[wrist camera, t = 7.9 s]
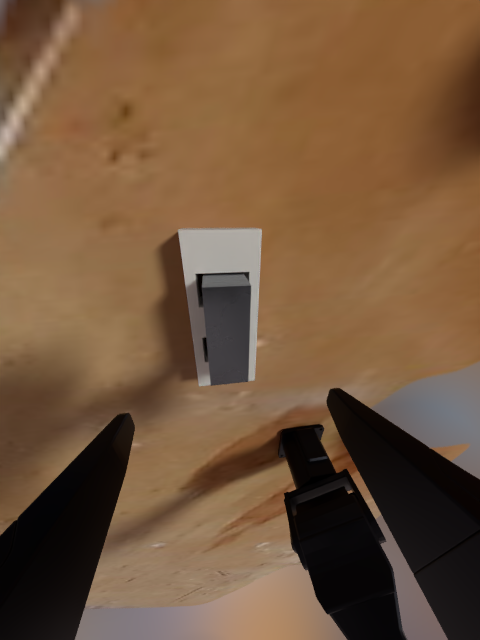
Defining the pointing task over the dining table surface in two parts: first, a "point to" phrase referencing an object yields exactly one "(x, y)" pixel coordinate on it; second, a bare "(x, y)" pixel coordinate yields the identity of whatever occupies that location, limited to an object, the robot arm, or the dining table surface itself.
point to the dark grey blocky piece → (227, 326)
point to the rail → (219, 257)
